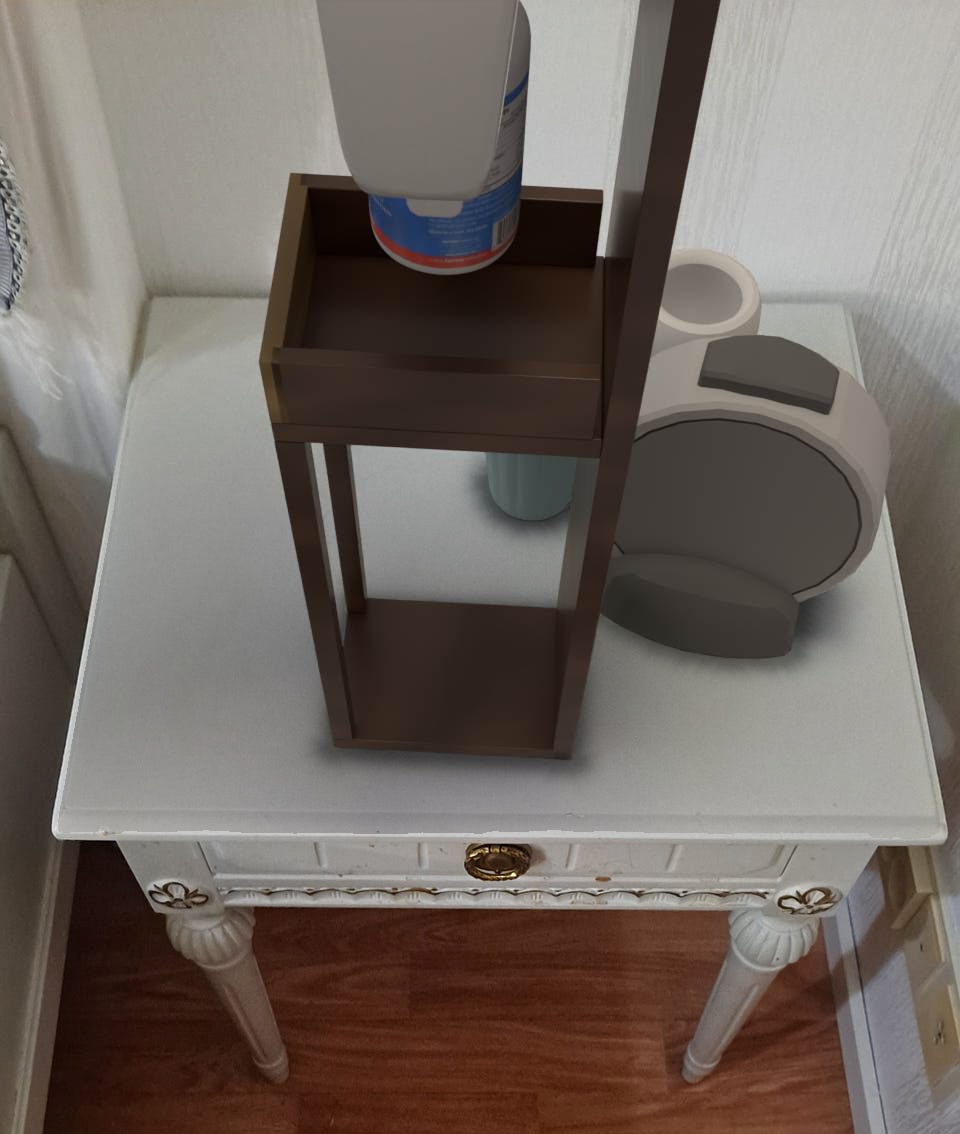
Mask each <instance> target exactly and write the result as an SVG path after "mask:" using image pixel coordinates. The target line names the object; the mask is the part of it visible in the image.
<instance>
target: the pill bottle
mask: <svg viewBox="0 0 960 1134" xmlns="http://www.w3.org/2000/svg"><path fill="white" fill-rule="evenodd" d="M531 48H532V32H531V24H530V20H529V16H528V13H527V11H526V9H525V7H524V5H523V3H522V1H521V0H519V3H518V9H517V16H516V23H515V30H514V37H513V44H512V50H511V57H510V64H509V71H508V77H507V84H506V91H505V97H504V104H503V111H502V117H501V123H500V129H499V135H498V140H497V146H496V151H495V155H494V160H493V165H492V169H491V172H490V176H489V179H488V182H487V184H486V186H485V188H484V190H483V192H482V193H481V194H480V195H479V196H478V197H477V198H475V199H472V200H468V201H463V208H462V210H461V213H459V214H458V215H457V216H455V217H452V218H442V217H426V216H417V215H416V214H414V213H413V212H411V211H410V209H409V208H408V206H407V200H406V199H404V198H390V197H379V196H374V195H370V194H369V210H370V218H371V224H372V229H373V232H374V235H375V237H376V239H377V241H378V243H379V244H380V246H381V247H382V248H383V249H384V251H385V252H386V253H387V254H388V255H389V256H390V257H392V258H393V259H394V260H396V261H397V262H399V263H401V264H403V265H405V266H407V267H409V268H411V269H414V270H417V271H421V272H425V273H430V274H439V275H453V274H462V273H468V272H472V271H475V270H478V269H481V268H483V267H485V266H488V265H489V264H491V263H492V262H494V261H495V260H497V259H498V258H499V257H500V256H501V255H502V254H503V253H504V252H505V251H506V250H507V249H508V247H509V246H510V245H511V243H512V241H513V239H514V237H515V234H516V231H517V227H518V222H519V213H520V201H521V186H522V185H523V172H524V171H523V169H524V155H525V154H524V153H525V152H524V151H525V141H526V121H527V111H528V109H527V108H528V95H529V82H530V81H529V78H530V67H531V66H530V65H531V52H532V51H531V50H532V49H531Z"/></svg>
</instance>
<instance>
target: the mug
mask: <svg viewBox="0 0 960 1134" xmlns="http://www.w3.org/2000/svg"><path fill="white" fill-rule="evenodd" d="M758 285H759V284H758V282H757V281H756V279H755V276H754V275H753V273H752V272H751V271H750V270H749V269H748V268H747V267H746V266H745V265H744V264H743V263H741V261H738V260H737V259H735V258H734V257H732V256H730V255H728V254H725V253H724V252H721V251H717V250H714V249H709V248H701V247H690V248H689V247H688V248H681V249H676V250H672V251H671V256H670V261H669V266H668V271H667V276H666V281H665V286H664V291H663V297H662V302H661V307H660V312H659V317H658V322H657V327H656V332H655V337H654V342H653V347H652V352H651V357H650V358H652V357H653V356H655V355H656V354H658V353H659V352H661V351H664V350H667V349H670V348H673V347H676V346H678V345H681V344H684V343H687V342H690V341H693V340H696V339H705V338H715V337H724V336H733V335H739V336H742V335H758V333H759V329H760V322H761V316H762V308H763V307H762V298H761V293H760V289H759V286H758Z"/></svg>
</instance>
